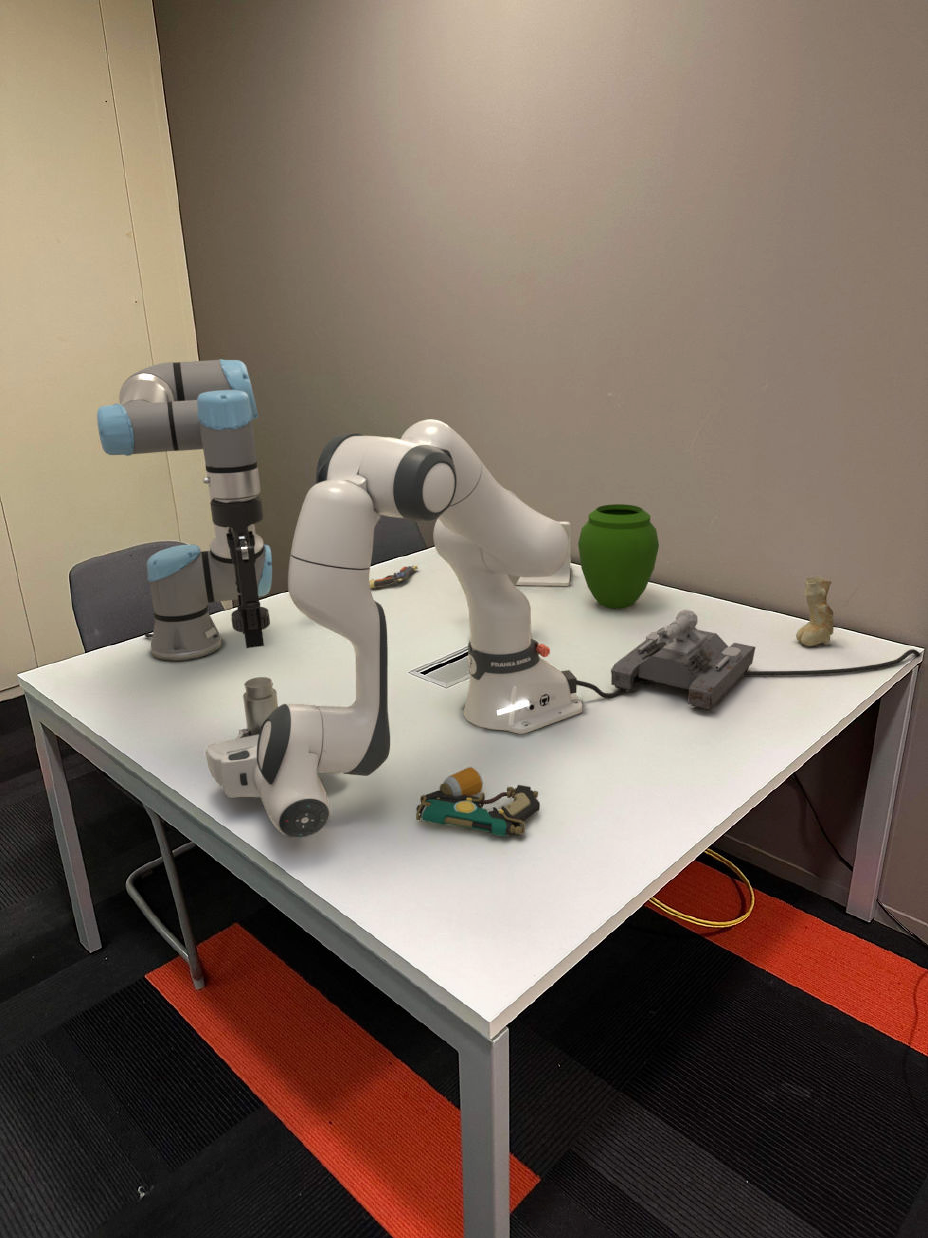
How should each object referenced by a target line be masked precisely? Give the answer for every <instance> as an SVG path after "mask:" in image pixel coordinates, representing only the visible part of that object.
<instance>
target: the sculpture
mask: <svg viewBox="0 0 928 1238" xmlns="http://www.w3.org/2000/svg"><path fill="white" fill-rule="evenodd" d="M804 583H805V587H804V588H805V589H804V594H803V595H804V596H803V597H805V598H806V603H807V607H808V612H809V621H808V622H807V623H806V624H805V625H803V626H802V627H801V628H799V629H798V630H797V632H796V634H795V638H796V641H798V642H799V643H801V644H802V645H804V646H806V647H814V646H817V645H819V644H823V645H825V646H826V645H829V644H830V642H831V636H832V635H834V631H835V630H834V618H833V617H834V611H833V609H832V607H830V605H829V604H828V602H827V597H828V594H829V590H830V587H831V584H832V581H831V580H828V579H826V578H825V577H821V576H815V577H808V578H805V579H804Z"/></svg>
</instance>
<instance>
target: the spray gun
mask: <svg viewBox="0 0 928 1238" xmlns="http://www.w3.org/2000/svg"><path fill="white" fill-rule="evenodd" d="M483 787H484V780H483V777H482V775H481V773H480V772H479V771H478V770H477V769H476V768H474V767H472V766H471V767H466V768H464V769H462V770H460V771H458V772H454V773H453V774H451V775H449V776H446V778H444V780H443V782H442V783H441V784H440V786H439V790H435V791H432V792H430V793H427V794H422V795H420V798H419V799H420V804H418V805H417V806H416V809H415V811H416V813H415V821H417V822H420V821H421V820H422V821H424V822H428V823H433V824H437V825H443V826H446V825H450V826H456V827H461V828H466V829H472V830H478V831H483V832H488V834H491V835H493V836H499V837H503V838H506V837H507V836H508V837H509V836H510V835H511V834H513V833H515V834H516V835H523V834H524V833H525V832H526V821H528V820H529V819H530V818H531V817H532V816H534V815H535V814H537V813H538V812H539V811H540V809H541V808H540V807H541V803H540V801H539V800H538V799H537V798H538V796H539V791H537V790H532V787H531V786H527V785H523V784H517V786H516V787H513V786H507V787H506V791H502V792H500V793H498V794H497V795H495V796H494V797H492V798H489V799H486V795H485V792H482V790H483ZM477 794H480V795H479V797H478V796H475V795H477ZM504 797H506V798H507V799H512V800H513V801H512V802H510V803H509V804H506V806H504V805H502V806H500V809H498V808H497V807H496V806H494V807H492V810H487V809H486V808H484V806H485V805H491V804H494V803H496V802H498V801H500V799H502V798H504Z"/></svg>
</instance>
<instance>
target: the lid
mask: <svg viewBox="0 0 928 1238" xmlns="http://www.w3.org/2000/svg"><path fill="white" fill-rule="evenodd" d="M230 616H231V626H232V629H233V630H234V631H235V632H238V633H242V632H244V626H243V619H242V611H241V610H240V611H238V609H236V610H234V611H232V612H231V615H230ZM260 616H261V625H262V631H263V630H265V629H267V628H268V627H269V626H270V625H271V619H270V612H269V609H268V608H267V607H265V606H260Z"/></svg>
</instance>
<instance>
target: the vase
mask: <svg viewBox="0 0 928 1238" xmlns="http://www.w3.org/2000/svg"><path fill="white" fill-rule="evenodd" d="M587 516H588V517H587V518H588V521H587V522H586V523H585V524H584V525H583V526H582V527H581V529H580V534H579V538H578V541H577V546H578V554H579V562H580V569H581V571H582V574H583V577H584V580H585V583H586V585H587V588H588V590H589V591H590V594H592V597H593V598H594V600H595V601H596V602H597V603H598V604H599V605H600V606H602V607H604V608H606V609H609V610H625V609H628V608H630V607H632V606H634V604H636V602H638V601H639V599H640V597H641V596H642V595H643V593H644V592H645V590H646V588H647V586H648V584H649V581H650V579H651V577H652V574H653V572H654V570H655V566H656V562H657V557H658V552H659V548H660V544H659V543H660V542H659V537H658V531H657V528H656V527H655V526H654V524H653V523H652V522H651V515H650V514H649V512H647V511H645V510H644V509H643V508H642V507H641V506H638V505H633V504H622V503H621V504H619V503H616V504H615V503H614V504H604V505H601V506H598V507H597V508H595V509H594V510H592V511H591V512H590V513H589V514H588V515H587Z"/></svg>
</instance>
